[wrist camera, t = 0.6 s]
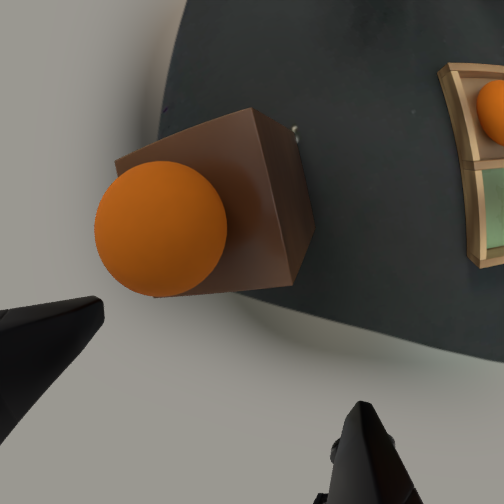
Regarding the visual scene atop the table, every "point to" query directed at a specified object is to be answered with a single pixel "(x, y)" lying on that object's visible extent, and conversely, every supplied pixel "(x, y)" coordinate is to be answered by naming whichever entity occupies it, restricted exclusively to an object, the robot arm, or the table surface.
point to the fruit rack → (477, 160)
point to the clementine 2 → (492, 110)
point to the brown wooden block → (245, 196)
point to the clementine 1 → (160, 228)
